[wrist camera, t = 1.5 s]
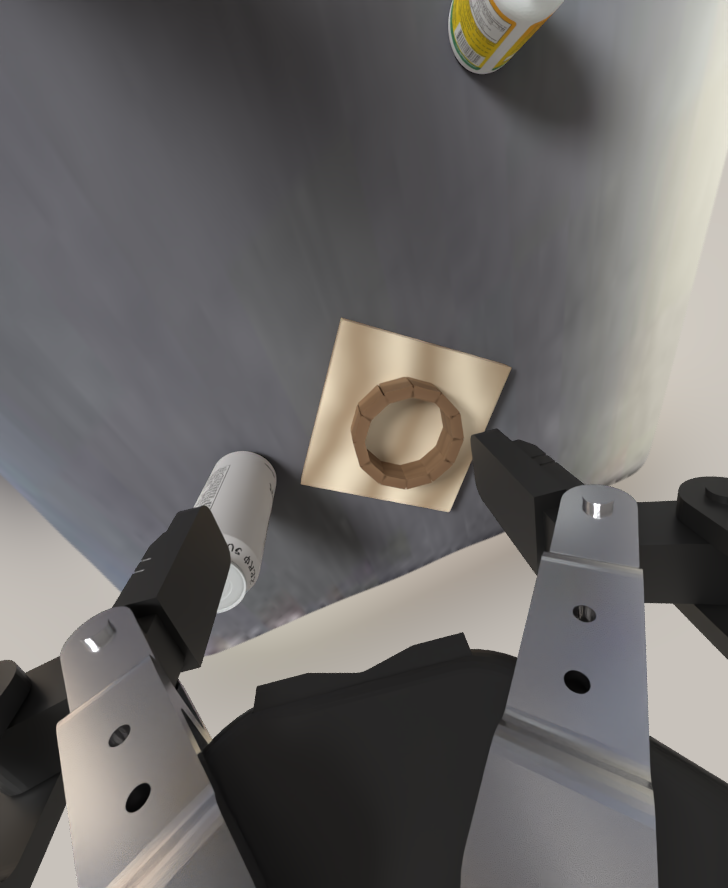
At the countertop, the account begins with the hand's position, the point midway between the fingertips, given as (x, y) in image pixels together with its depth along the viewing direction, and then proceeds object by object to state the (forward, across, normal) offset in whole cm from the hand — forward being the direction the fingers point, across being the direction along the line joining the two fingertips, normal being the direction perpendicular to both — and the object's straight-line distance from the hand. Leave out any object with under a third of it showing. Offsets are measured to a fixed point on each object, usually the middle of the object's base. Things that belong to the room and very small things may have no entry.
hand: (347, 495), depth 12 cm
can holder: (+25, +5, -9) cm, 27 cm away
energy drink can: (+25, -11, -10) cm, 29 cm away
